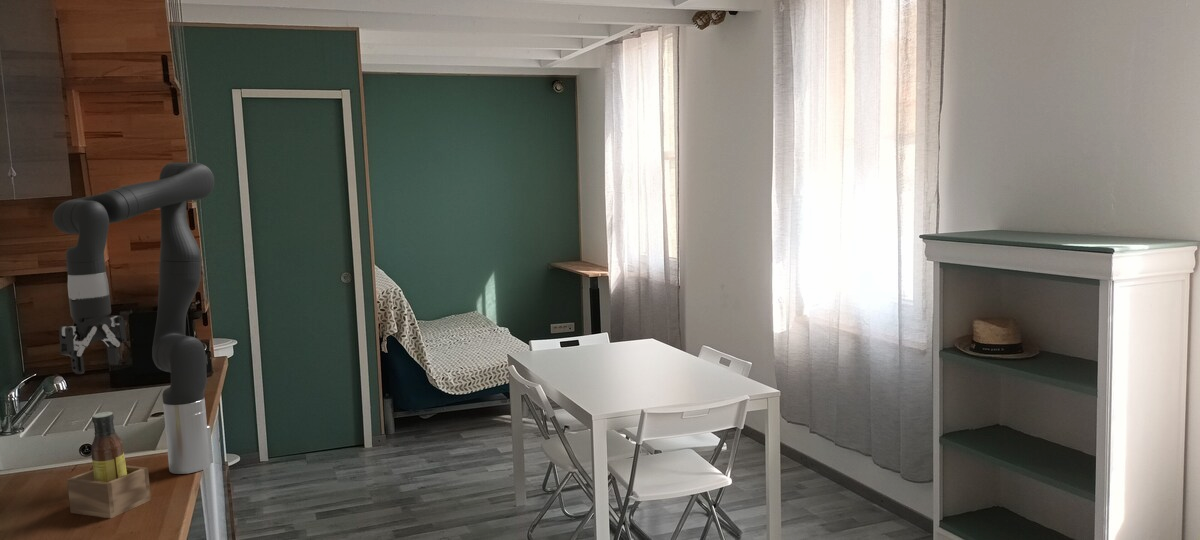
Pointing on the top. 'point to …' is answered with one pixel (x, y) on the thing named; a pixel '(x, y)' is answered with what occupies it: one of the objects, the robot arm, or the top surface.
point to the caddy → (108, 493)
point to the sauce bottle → (107, 449)
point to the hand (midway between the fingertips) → (96, 368)
